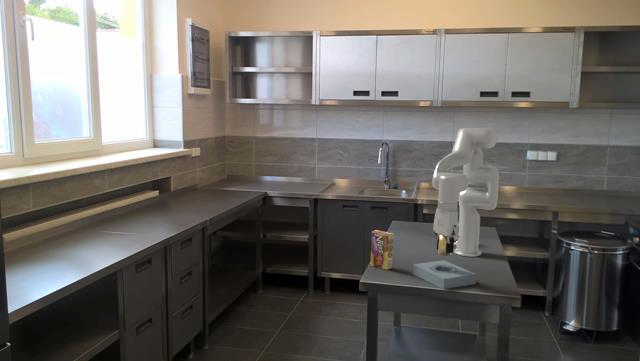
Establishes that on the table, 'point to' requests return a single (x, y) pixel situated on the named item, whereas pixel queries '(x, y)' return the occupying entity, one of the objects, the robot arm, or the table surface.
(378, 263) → the candy box
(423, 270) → the plate
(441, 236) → the bushing
